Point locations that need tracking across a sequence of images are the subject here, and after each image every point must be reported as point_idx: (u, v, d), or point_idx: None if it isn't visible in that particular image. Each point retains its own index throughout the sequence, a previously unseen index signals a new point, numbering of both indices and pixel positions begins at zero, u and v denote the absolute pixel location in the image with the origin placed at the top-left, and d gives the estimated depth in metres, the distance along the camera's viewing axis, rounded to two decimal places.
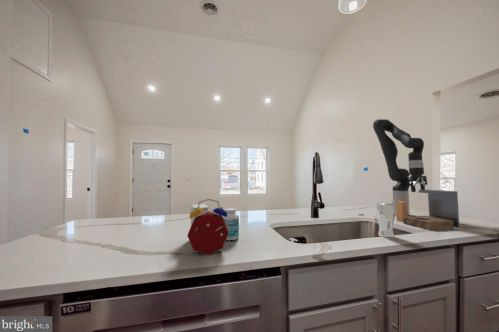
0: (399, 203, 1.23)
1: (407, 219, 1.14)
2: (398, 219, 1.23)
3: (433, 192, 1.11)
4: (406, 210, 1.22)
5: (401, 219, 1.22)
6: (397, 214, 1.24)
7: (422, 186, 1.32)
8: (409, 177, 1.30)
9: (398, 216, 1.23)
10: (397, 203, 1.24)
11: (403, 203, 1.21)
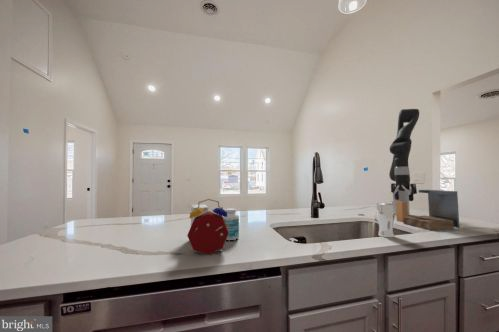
0: (399, 203, 1.23)
1: (407, 219, 1.14)
2: (398, 219, 1.23)
3: (433, 192, 1.11)
4: (406, 210, 1.22)
5: (401, 219, 1.22)
6: (397, 214, 1.24)
7: (397, 194, 1.27)
8: (414, 185, 1.17)
9: (398, 216, 1.23)
10: (397, 203, 1.24)
11: (403, 203, 1.21)
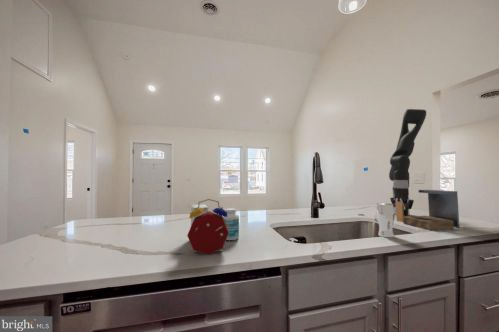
0: (399, 203, 1.23)
1: (407, 219, 1.14)
2: (398, 219, 1.23)
3: (433, 192, 1.11)
4: None
5: (401, 219, 1.22)
6: (397, 214, 1.24)
7: None
8: (411, 201, 1.17)
9: (398, 216, 1.23)
10: (397, 203, 1.24)
11: None
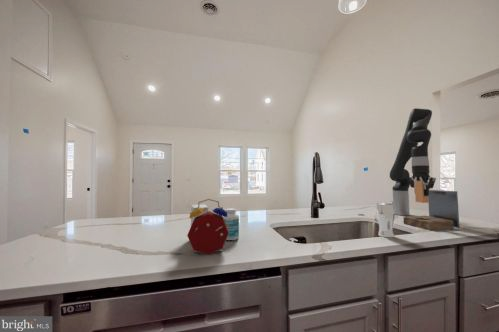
0: (418, 182, 1.11)
1: (407, 219, 1.14)
2: (417, 200, 1.11)
3: (433, 192, 1.11)
4: None
5: (421, 200, 1.09)
6: (416, 195, 1.12)
7: None
8: (433, 179, 1.05)
9: (417, 197, 1.11)
10: (416, 182, 1.12)
11: None
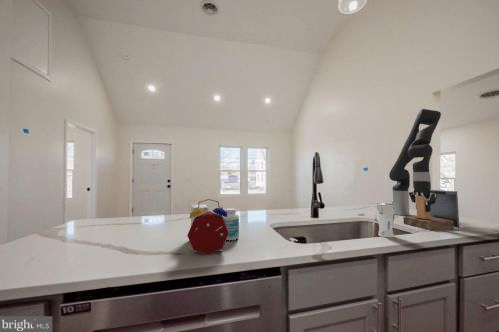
0: (420, 198, 1.10)
1: (407, 219, 1.14)
2: (419, 216, 1.11)
3: (433, 192, 1.11)
4: None
5: (423, 215, 1.09)
6: (418, 210, 1.11)
7: None
8: (435, 195, 1.05)
9: (419, 212, 1.11)
10: (417, 198, 1.11)
11: None
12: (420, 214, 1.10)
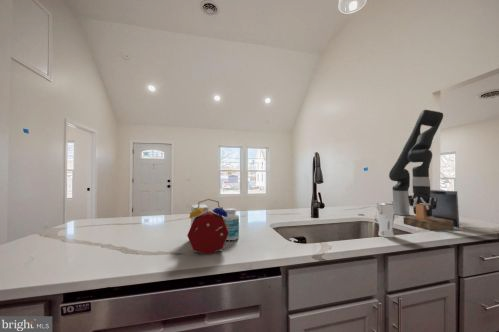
0: (420, 206, 1.10)
1: (407, 219, 1.14)
2: None
3: (433, 192, 1.11)
4: None
5: None
6: (417, 218, 1.11)
7: None
8: (435, 199, 1.04)
9: None
10: (417, 206, 1.11)
11: (424, 206, 1.09)
12: None
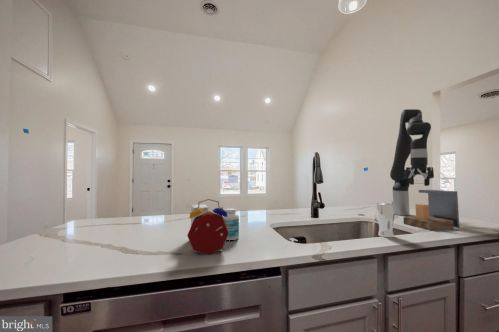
0: (420, 206, 1.10)
1: (407, 219, 1.14)
2: None
3: (433, 192, 1.11)
4: (428, 214, 1.09)
5: None
6: (417, 218, 1.11)
7: (412, 178, 1.18)
8: (431, 168, 1.08)
9: None
10: (417, 206, 1.11)
11: (424, 206, 1.09)
12: None
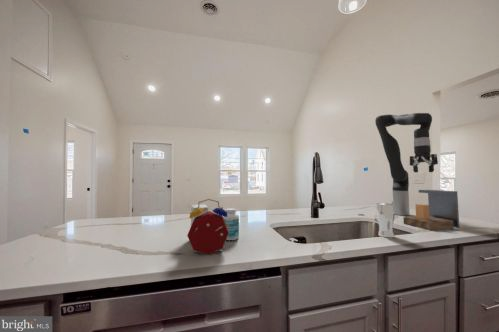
0: (420, 206, 1.10)
1: (407, 219, 1.14)
2: None
3: (433, 192, 1.11)
4: (428, 214, 1.09)
5: None
6: (417, 218, 1.11)
7: (416, 167, 1.24)
8: (435, 155, 1.13)
9: None
10: (417, 206, 1.11)
11: (424, 206, 1.09)
12: None
